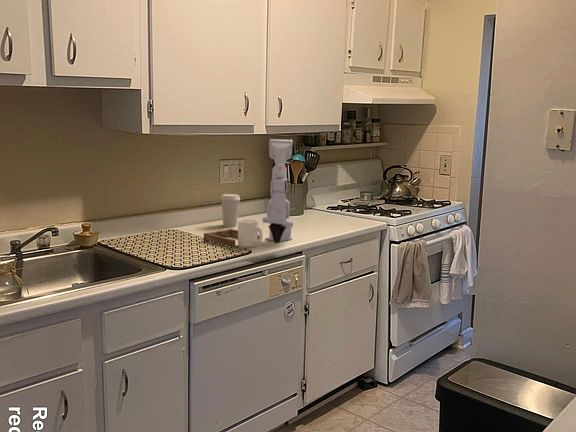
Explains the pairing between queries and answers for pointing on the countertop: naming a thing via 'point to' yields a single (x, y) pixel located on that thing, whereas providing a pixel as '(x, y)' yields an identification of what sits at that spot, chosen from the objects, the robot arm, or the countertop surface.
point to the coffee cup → (230, 209)
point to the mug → (249, 233)
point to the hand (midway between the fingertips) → (276, 242)
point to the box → (222, 237)
